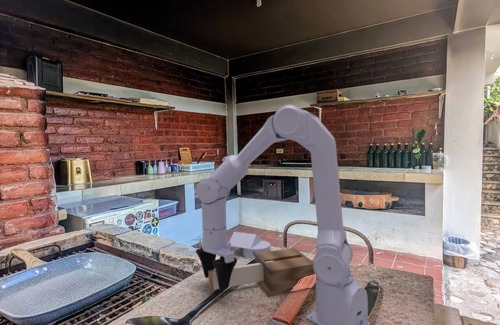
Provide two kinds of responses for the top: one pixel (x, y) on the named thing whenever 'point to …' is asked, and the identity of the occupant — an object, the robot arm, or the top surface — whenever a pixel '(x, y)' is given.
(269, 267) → the dispenser
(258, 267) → the cream wooden plank
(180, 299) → the top surface
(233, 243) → the wedge on round base
